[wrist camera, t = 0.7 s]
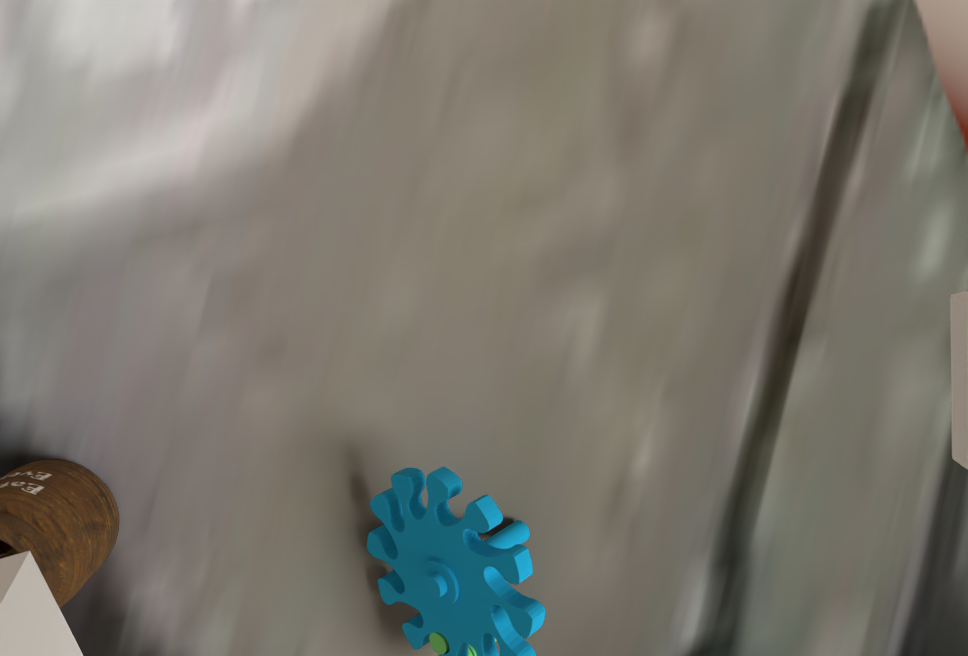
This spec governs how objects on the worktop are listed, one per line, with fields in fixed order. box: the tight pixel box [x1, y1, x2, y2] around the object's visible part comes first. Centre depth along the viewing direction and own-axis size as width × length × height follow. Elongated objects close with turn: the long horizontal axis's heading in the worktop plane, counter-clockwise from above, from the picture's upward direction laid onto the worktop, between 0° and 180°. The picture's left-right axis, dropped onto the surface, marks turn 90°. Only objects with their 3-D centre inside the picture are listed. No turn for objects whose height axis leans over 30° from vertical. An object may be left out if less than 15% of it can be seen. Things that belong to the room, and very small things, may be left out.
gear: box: [367, 466, 546, 656], centre depth 39 cm, size 11×6×10 cm
